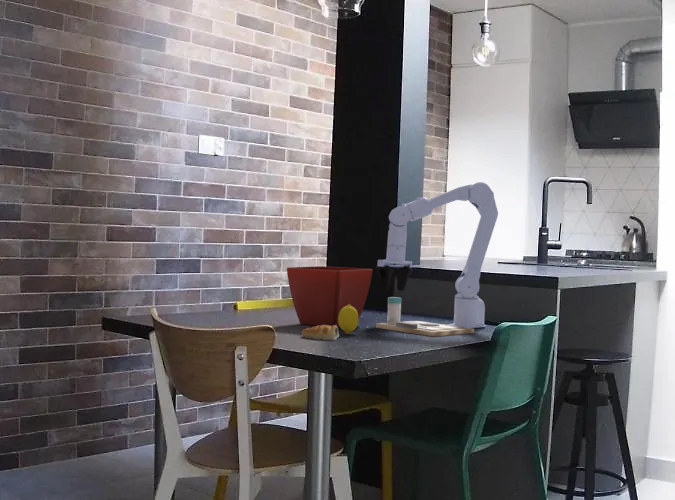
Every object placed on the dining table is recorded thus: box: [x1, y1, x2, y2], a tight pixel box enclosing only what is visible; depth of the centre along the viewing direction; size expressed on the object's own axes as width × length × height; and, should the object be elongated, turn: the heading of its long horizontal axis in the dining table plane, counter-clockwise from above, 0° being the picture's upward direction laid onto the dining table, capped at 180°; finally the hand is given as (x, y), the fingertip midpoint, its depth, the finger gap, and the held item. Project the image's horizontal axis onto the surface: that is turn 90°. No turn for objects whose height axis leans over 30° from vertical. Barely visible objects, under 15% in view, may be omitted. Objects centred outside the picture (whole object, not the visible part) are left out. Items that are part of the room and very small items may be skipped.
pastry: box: [301, 325, 340, 341], centre depth 210 cm, size 9×7×4 cm
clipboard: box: [375, 320, 475, 337], centre depth 236 cm, size 18×22×2 cm
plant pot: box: [286, 265, 373, 328], centre depth 241 cm, size 19×19×17 cm
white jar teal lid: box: [386, 296, 402, 323], centre depth 250 cm, size 4×4×8 cm
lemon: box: [338, 305, 360, 335], centre depth 221 cm, size 6×6×8 cm
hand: (393, 290), depth 249 cm, fingers open, 7 cm apart
